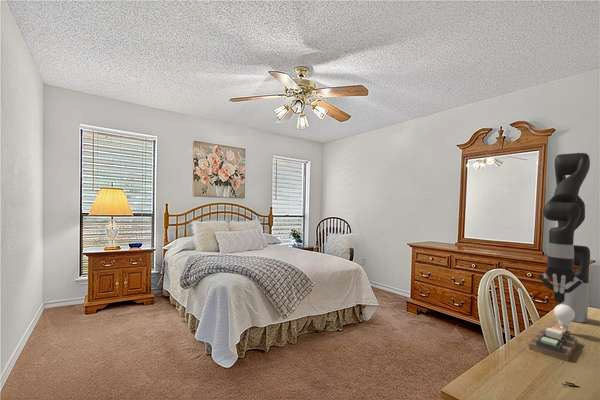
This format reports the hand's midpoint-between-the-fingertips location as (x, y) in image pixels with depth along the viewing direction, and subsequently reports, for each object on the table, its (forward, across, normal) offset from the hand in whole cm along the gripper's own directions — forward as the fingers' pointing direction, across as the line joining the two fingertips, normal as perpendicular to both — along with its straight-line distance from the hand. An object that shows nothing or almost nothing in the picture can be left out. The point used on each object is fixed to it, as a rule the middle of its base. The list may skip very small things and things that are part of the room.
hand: (559, 302), depth 113 cm
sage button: (+12, 0, +16) cm, 20 cm away
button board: (+14, 0, +8) cm, 16 cm away
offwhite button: (+10, 0, +8) cm, 13 cm away
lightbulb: (+14, 0, -12) cm, 18 cm away
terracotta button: (+12, 0, 0) cm, 12 cm away
